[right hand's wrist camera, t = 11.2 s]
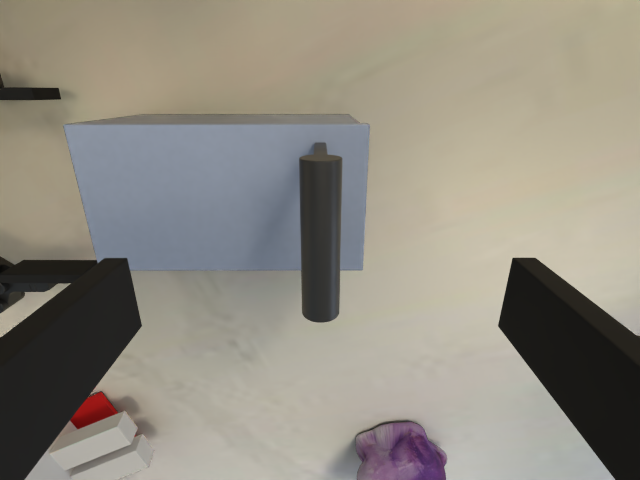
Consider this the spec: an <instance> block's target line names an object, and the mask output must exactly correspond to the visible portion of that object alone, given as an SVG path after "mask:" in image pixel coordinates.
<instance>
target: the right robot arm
mask: <svg viewBox="0 0 640 480" xmlns="http://www.w3.org/2000/svg"><path fill="white" fill-rule="evenodd" d="M141 326H142V324H141V320H140V315H139V310H138V306H137V301H136V296H135V292H134V287H133V282H132V278H131V273H130V268H129V264H128V259H127V258H104V259H103V260H101V261H100V262H99V263H97V264H96V265H95V266H94V267H92V268H91V269H90V270H88V271H87V272H86V273H84V274H83V275H82V276H81V277H79V278H78V279H77V280H75V281H74V282H73V283H71V284H70V285H69V286H68V287H66V288H65V289H64V290H62V291H61V292H60V293H58V294H57V295H56V296H55V297H53V298H52V299H51V300H49V301H48V302H47V303H45V304H44V305H43V306H41V307H40V308H39V309H38V310H36V311H35V312H34V313H32V314H31V315H30V316H28V317H27V318H26V319H25V320H23V321H22V322H21V323H19V324H18V325H17V326H15V327H14V328H13V329H12V330H10V331H9V332H8V333H6V334H5V335H4V336H2V337H0V480H25V479H26V477H27V476H28V475H29V473H30V472H31V471H32V469H33V468H34V467H35V465H36V464H37V463H38V461H39V460H40V459H41V458H42V456H43V455H44V454H45V452H46V451H47V450H48V448H49V447H50V446H51V444H52V443H53V442H54V441H55V439H56V438H57V437H58V435H59V434H60V433H61V431H62V430H63V429H64V427H65V426H66V425H67V423H68V422H69V421H70V420H71V418H72V417H73V416H74V414H75V413H76V412H77V410H78V409H79V408H80V406H81V405H82V404H83V402H84V401H85V400H86V399H87V397H88V396H89V395H90V393H91V392H92V391H93V389H94V388H95V387H96V385H97V384H98V383H99V382H100V380H101V379H102V378H103V376H104V375H105V374H106V372H107V371H108V370H109V368H110V367H111V366H112V364H113V363H114V362H115V361H116V359H117V358H118V357H119V355H120V354H121V353H122V351H123V350H124V349H125V347H126V346H127V345H128V343H129V342H130V341H131V340H132V338H133V337H134V336H135V334H136V333H137V332H138V330H139V329H140V328H141ZM498 326H499V328H500V329H501V330H502V332H503V333H504V334H505V336H506V337H507V338H508V340H509V341H510V342H511V343H512V345H513V346H514V347H515V349H516V350H517V351H518V353H519V354H520V355H521V357H522V358H523V359H524V361H525V362H526V363H527V364H528V366H529V367H530V368H531V370H532V371H533V372H534V374H535V375H536V376H537V378H538V379H539V380H540V382H541V383H542V384H543V385H544V387H545V388H546V389H547V391H548V392H549V393H550V395H551V396H552V397H553V399H554V400H555V401H556V402H557V404H558V405H559V406H560V408H561V409H562V410H563V412H564V413H565V414H566V416H567V417H568V418H569V420H570V421H571V422H572V423H573V425H574V426H575V427H576V429H577V430H578V431H579V433H580V434H581V435H582V437H583V438H584V439H585V441H586V442H587V443H588V444H589V446H590V447H591V448H592V450H593V451H594V452H595V454H596V455H597V456H598V458H599V459H600V460H601V461H602V463H603V464H604V465H605V467H606V468H607V469H608V471H609V472H610V473H611V475H612V476H613V477H614V479H615V480H640V336H636V335H635V334H634V333H632V332H631V331H630V330H628V329H627V328H626V327H625V326H623V325H622V324H621V323H619V322H618V321H617V320H615V319H614V318H613V317H612V316H610V315H609V314H608V313H606V312H605V311H604V310H602V309H601V308H600V307H598V306H597V305H596V304H595V303H593V302H592V301H591V300H589V299H588V298H587V297H585V296H584V295H583V294H582V293H580V292H579V291H578V290H576V289H575V288H574V287H572V286H571V285H570V284H569V283H567V282H566V281H565V280H563V279H562V278H561V277H559V276H558V275H557V274H556V273H554V272H553V271H552V270H550V269H549V268H548V267H546V266H545V265H544V264H543V263H541V262H540V261H539V260H537V259H536V258H513V259H512V264H511V268H510V273H509V278H508V282H507V287H506V292H505V296H504V301H503V306H502V310H501V315H500V320H499V324H498Z"/></svg>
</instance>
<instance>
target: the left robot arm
mask: <svg viewBox="0 0 640 480" xmlns="http://www.w3.org/2000/svg"><path fill="white" fill-rule="evenodd" d="M54 99H61V97H60V93H59V88H4V85H3V82H2V78H1V75H0V100H54ZM96 264H97V260H23V261H21V262H20V263H18V264H16V265H13V264H12V263H10V262H9V261H7V260H5V259H4V258H2V257H0V313H2V312H3V311H4V310H6V309H7V308H9V307H10V306H12V305H13V304H15V303H16V302H18V301H19V300H20V299H22V298H23V297H24V296H25V293H24V292H45V291H47V290H50V289H51V288H52V287H54V286H55V285H57V284H58V283H73V282H74V281H75V280H77V279H78V278H79V277H81V276H82V275H83V274H84V273H86V272H87V271H88V270H90V269H91V268H92V267H94V266H95V265H96Z"/></svg>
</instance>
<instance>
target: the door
mask: <svg viewBox="0 0 640 480" xmlns="http://www.w3.org/2000/svg"><path fill="white" fill-rule="evenodd" d="M63 126H64V130H65V135H66V139H67V143H68V147H69V151H70V155H71V159H72V163H73V167H74V171H75V175H76V179H77V183H78V187H79V191H80V195H81V199H82V203H83V207H84V211H85V215H86V219H87V223H88V227H89V231H90V235H91V239H92V243H93V247H94V251H95V255H96V259H97V263H99V262H100V261H101V260H103V259H104V258H127V259H128V264H129V268H130V270H301V279H302V313H303V316H304V317H305V318H306V319H308V320H310V321H313V322H328V321H331V320H333V319H335V318H336V317H337V316H338V314H339V293H340V270H363V255H364V234H365V213H366V193H367V172H368V151H369V130H370V125H369V124H367V123H71V124H64V125H63Z"/></svg>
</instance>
